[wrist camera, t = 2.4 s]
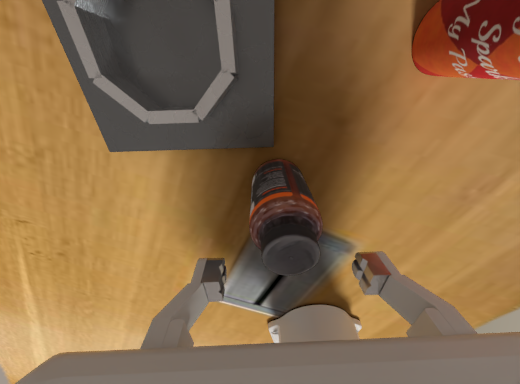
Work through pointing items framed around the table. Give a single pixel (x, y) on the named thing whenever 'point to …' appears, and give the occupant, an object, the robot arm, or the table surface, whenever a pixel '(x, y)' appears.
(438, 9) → the paper cup
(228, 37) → the ring collar
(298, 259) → the supplement bottle
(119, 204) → the table surface
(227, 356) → the robot arm
